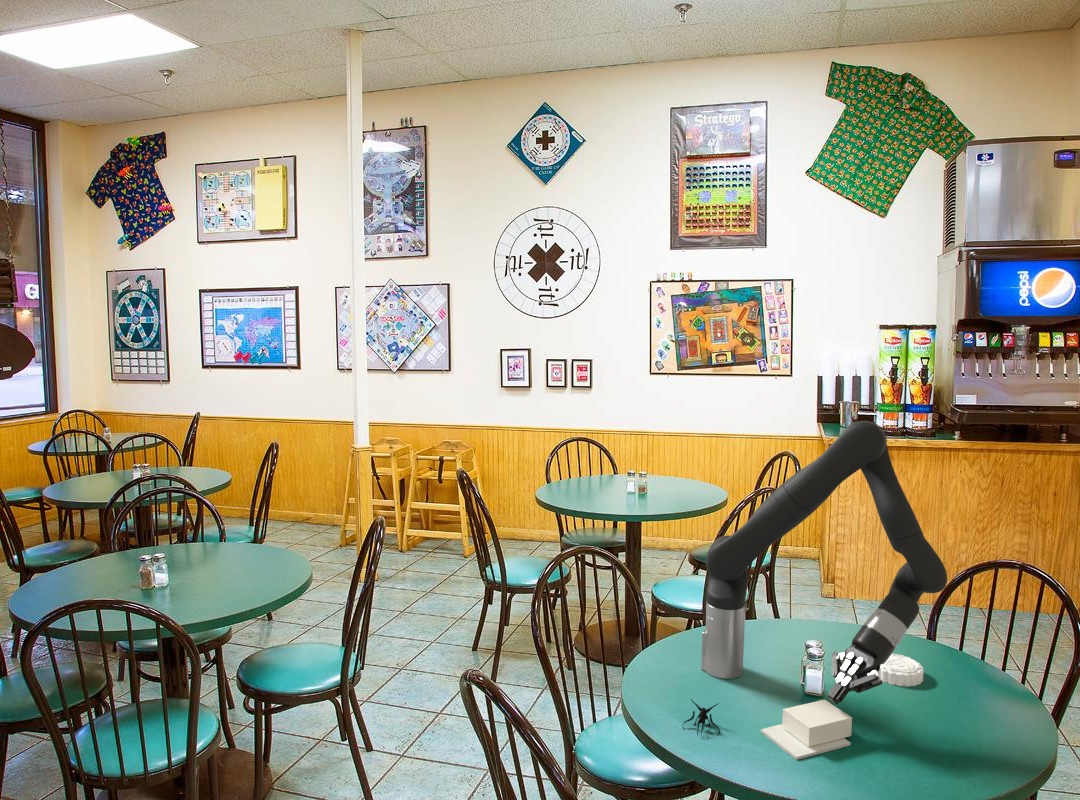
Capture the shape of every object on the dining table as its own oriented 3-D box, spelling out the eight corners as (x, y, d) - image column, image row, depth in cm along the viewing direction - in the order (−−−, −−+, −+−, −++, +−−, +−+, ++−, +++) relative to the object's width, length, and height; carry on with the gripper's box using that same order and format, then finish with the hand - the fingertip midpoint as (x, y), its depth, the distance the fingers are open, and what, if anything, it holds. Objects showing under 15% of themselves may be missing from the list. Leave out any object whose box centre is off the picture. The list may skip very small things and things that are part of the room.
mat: (760, 732, 163) (760, 729, 163) (812, 719, 168) (812, 716, 168) (796, 759, 153) (796, 757, 153) (850, 745, 158) (850, 742, 158)
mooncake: (860, 665, 195) (861, 651, 194) (907, 664, 195) (908, 650, 195) (883, 688, 183) (884, 673, 182) (933, 687, 183) (934, 672, 183)
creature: (718, 746, 160) (722, 719, 167) (718, 724, 158) (723, 698, 165) (680, 738, 162) (686, 712, 169) (680, 718, 161) (686, 692, 168)
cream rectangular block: (823, 718, 167) (782, 728, 163) (824, 699, 167) (782, 709, 163) (851, 736, 160) (808, 747, 156) (852, 717, 159) (809, 728, 155)
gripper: (847, 614, 170) (800, 677, 167) (895, 637, 158) (846, 706, 155) (864, 633, 173) (819, 696, 170) (913, 658, 161) (865, 725, 157)
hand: (832, 700), depth 162 cm, fingers closed
